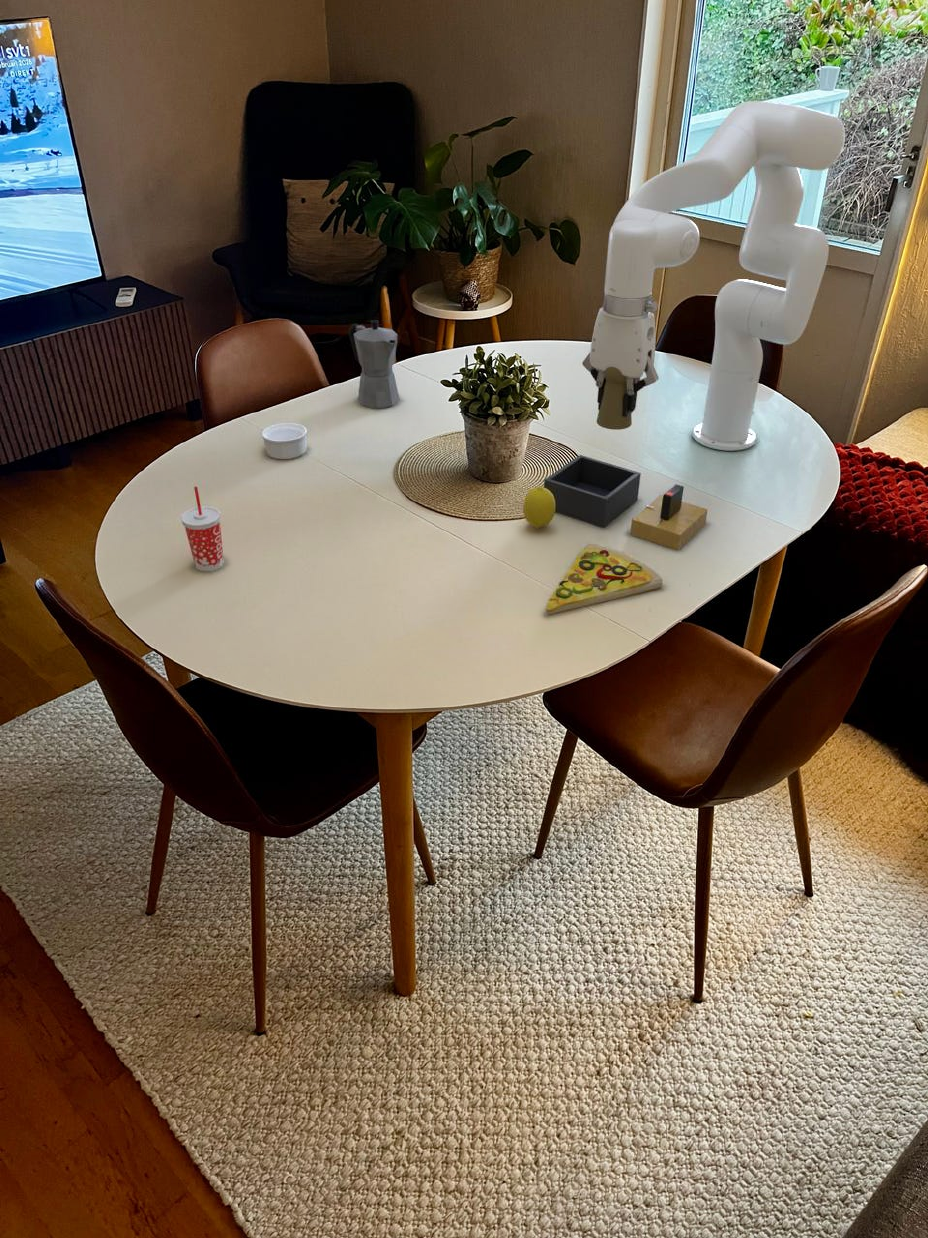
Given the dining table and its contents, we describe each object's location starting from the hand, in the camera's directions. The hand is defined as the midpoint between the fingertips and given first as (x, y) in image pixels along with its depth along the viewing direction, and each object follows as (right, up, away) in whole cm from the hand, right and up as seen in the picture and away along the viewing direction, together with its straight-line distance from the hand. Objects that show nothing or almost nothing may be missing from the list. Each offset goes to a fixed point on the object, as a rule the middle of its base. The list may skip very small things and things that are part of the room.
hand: (615, 410), depth 164 cm
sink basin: (-3, -15, +10) cm, 18 cm away
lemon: (-13, -20, +3) cm, 24 cm away
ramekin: (-62, -3, +27) cm, 67 cm away
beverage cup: (-68, -27, -8) cm, 73 cm away
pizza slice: (-6, -31, -13) cm, 35 cm away
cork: (0, -2, +1) cm, 2 cm away
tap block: (+9, -20, +2) cm, 23 cm away
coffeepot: (-46, +13, +49) cm, 68 cm away
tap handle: (+9, -18, 0) cm, 20 cm away
